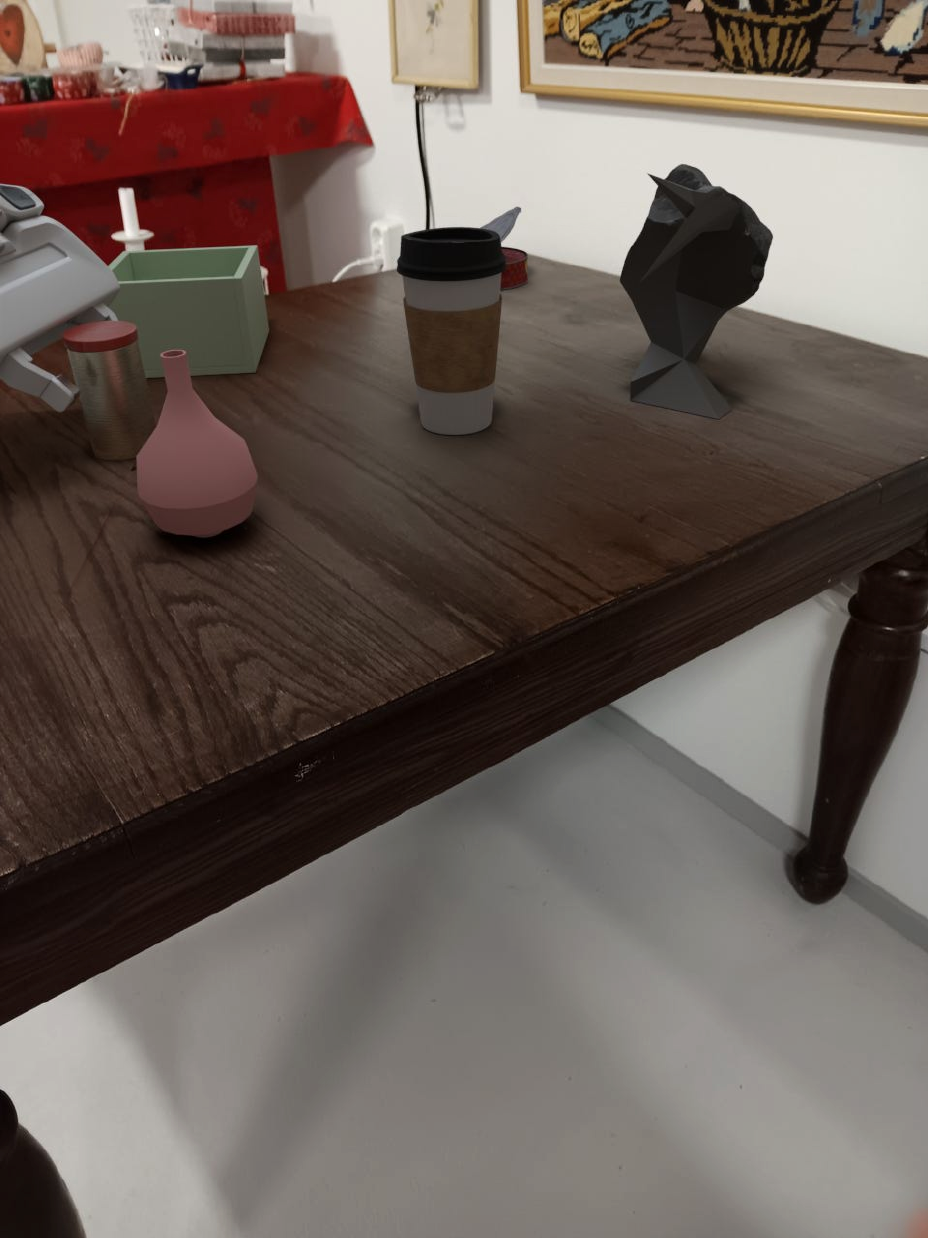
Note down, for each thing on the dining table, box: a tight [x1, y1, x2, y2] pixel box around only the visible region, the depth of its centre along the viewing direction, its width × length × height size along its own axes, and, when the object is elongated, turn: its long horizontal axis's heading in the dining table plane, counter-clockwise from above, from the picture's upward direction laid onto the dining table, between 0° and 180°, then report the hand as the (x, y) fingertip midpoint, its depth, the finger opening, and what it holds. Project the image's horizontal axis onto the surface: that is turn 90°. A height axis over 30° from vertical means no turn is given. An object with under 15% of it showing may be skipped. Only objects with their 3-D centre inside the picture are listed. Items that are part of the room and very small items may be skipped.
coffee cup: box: [396, 226, 507, 436], centre depth 76 cm, size 8×8×15 cm
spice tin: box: [62, 321, 157, 471], centre depth 72 cm, size 5×5×10 cm
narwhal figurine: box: [619, 163, 774, 420], centre depth 82 cm, size 14×15×18 cm
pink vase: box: [135, 350, 259, 538], centre depth 61 cm, size 8×8×12 cm
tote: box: [107, 244, 270, 379], centre depth 94 cm, size 14×14×9 cm
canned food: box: [480, 206, 529, 291], centre depth 117 cm, size 11×10×10 cm
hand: (104, 380), depth 71 cm, fingers open, 8 cm apart
